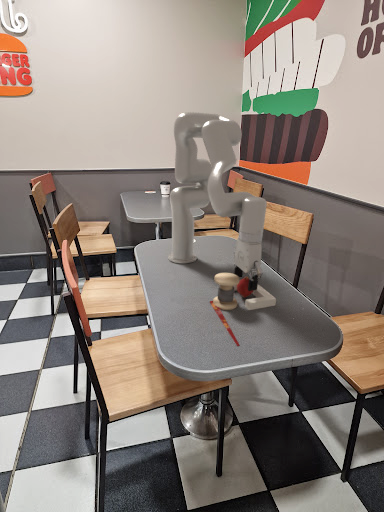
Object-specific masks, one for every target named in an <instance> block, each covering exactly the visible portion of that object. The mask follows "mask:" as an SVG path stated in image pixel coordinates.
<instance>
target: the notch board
mask: <svg viewBox="0 0 384 512" xmlns="http://www.w3.org/2000/svg"><path fill="white" fill-rule="evenodd" d="M233 287H234V292H235V291H237V285H235V286H233ZM252 294H253V296H254V297H255V298H254V297H252V298H247V299H245V302H244V303H245V304H244V307H245V308H246V309H247V310H248V311H253V310H258V309H264V308H268V307H269V308H270V307H273V306H276V303H277V298H276V297H275V296H274V295H272V294H271V293H270V292H269V291H267V290H266V289H265V288H264V287H262V286H261V285H260V284H258V286H257V290H254V291H253V293H252ZM252 294H251V295H252Z"/></svg>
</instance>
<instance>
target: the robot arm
mask: <svg viewBox="0 0 384 512" xmlns="http://www.w3.org/2000/svg"><path fill="white" fill-rule="evenodd" d="M242 134H243V132H242V128H241V126H240V125H239V123H238V122H237V121H235V120H234V119H233V120H232V119H230V118H228V117H225V116H223V115H220V114H216V113H208V112H207V113H204V112H194V111H192V112H191V111H190V112H182V113H180V114H179V115H178V116H177V117H176V119H175V121H174V124H173V137H174V143H175V156H174V157H175V158H174V177H175V178H174V179H175V180H176V182H177V183H179V184H181V185H182V184H188V185H185V186H178V187H175V188H173V189H172V190H171V191H170V194H169V203H170V211H171V253H169V254H168V257H167V258H168V260H169V261H170V262H172V263H175V264H186V265H187V264H191V263H193V262H195V261H196V260H197V259H198V257H197V254H195V253H194V244H195V242H194V241H195V218H194V216H193V214H192V212H191V210H196V209H202V208H203V209H204V208H206V207H207V206H208V205H209V204H211V207H212V209H213V211H214V213H215V214H216V215H217V216H219V217H220V218H227V217H228V218H229V217H236V216H240V220H239V227H238V229H239V230H238V237H237V240H236V243H235V249H234V251H233V263H234V265H233V266H234V270H233V271H234V272H233V274H235V275H237V276H238V277H239V278H241V279H242V278H243V277H244V273H245V274H248V277H249V279H250V280H249V283H248V291H254V290H257V286H258V283H259V280H260V279H261V278H262V276H263V274H264V271H263V268H262V267H261V263H262V243H263V236H264V234H263V233H264V225H265V221H266V218H265V217H266V214H267V213H266V212H267V206H268V205H267V204H268V202H267V200H266V199H265V198H263V197H260V196H255V195H254V194H252V193H250V192H248V191H237V192H236V191H235V192H225V189H224V187H223V182H222V179H223V178H222V177H223V174H224V173H226V172H228V171H229V170H231V169H233V167H235V165H236V164H237V157H236V154H235V150H234V147H236V146H238V144H239V143H240V142H241V140H242V137H243V135H242ZM194 138H195V139H196V138H197V139H198V138H199V139H202V141H203V144H204V146H205V150H206V153H207V157H208V159H209V160H207V159H204V158H198V145H197V143H196V140H195V139H194ZM189 184H195V185H189ZM253 274H254V275H253Z"/></svg>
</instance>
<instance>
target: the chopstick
mask: <svg viewBox="0 0 384 512" xmlns="http://www.w3.org/2000/svg"><path fill="white" fill-rule="evenodd" d="M209 303H210V306H211V307H212V308H213V310H214V311H215V313H216V315H217V316H218V318H219V319H220V320H221V323H222V325H223V327H225V329H226V331H227V332H228V334H229V336H230V337H231V338H232V340H233V342H234V344H235V345H236V347H240V346H241V345H240V343H239V342H238V341H239V340H237V337H236V336H235V334H234V332H233V330H232V328H231V327H230V325H229V323H228V321H227V319H226V318H225V316H224V314H223V312H222V311H221V309H220V308H219V307H216V306H215V305H214V304H213V300H210V301H209Z"/></svg>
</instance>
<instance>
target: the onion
mask: <svg viewBox="0 0 384 512" xmlns="http://www.w3.org/2000/svg"><path fill="white" fill-rule="evenodd" d="M249 280H250V277H249V276H244V278H243V277H242V278H241V279H240V281H239V284H237V290H236V292H237V293H238V294H239V295H241V296H242V298H247V297H249V296H251V295H252V293H253V291H248V283H249Z"/></svg>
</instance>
